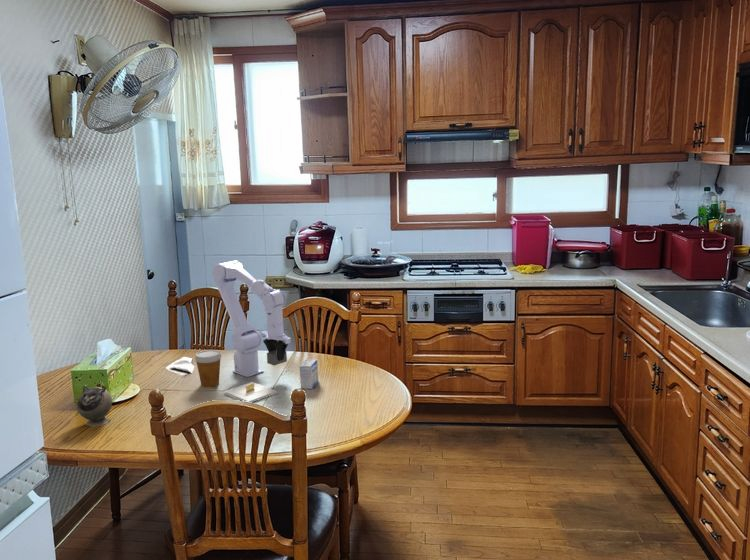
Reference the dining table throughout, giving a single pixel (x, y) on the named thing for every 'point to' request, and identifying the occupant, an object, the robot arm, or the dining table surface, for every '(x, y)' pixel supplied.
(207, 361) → the disposable coffee cup
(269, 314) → the robot arm
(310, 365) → the medicine box
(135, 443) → the dining table surface
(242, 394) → the board
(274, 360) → the block
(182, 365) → the cloth
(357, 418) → the dining table surface
